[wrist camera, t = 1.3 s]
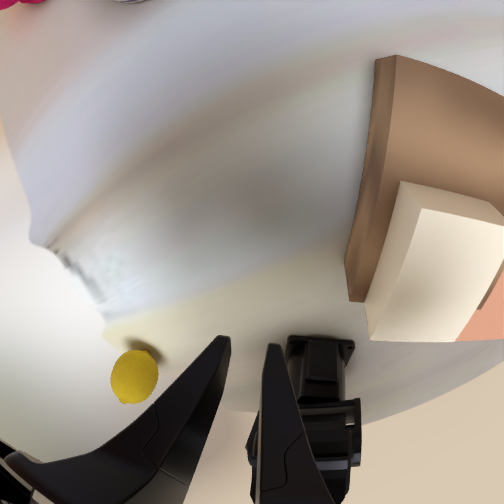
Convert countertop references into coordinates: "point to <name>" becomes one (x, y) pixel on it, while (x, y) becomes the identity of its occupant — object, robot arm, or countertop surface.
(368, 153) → the board
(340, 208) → the countertop surface
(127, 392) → the lemon
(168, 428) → the robot arm
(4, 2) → the pepper mill
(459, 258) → the cream rectangular block
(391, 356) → the countertop surface
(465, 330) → the mat
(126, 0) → the energy drink
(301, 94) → the countertop surface
